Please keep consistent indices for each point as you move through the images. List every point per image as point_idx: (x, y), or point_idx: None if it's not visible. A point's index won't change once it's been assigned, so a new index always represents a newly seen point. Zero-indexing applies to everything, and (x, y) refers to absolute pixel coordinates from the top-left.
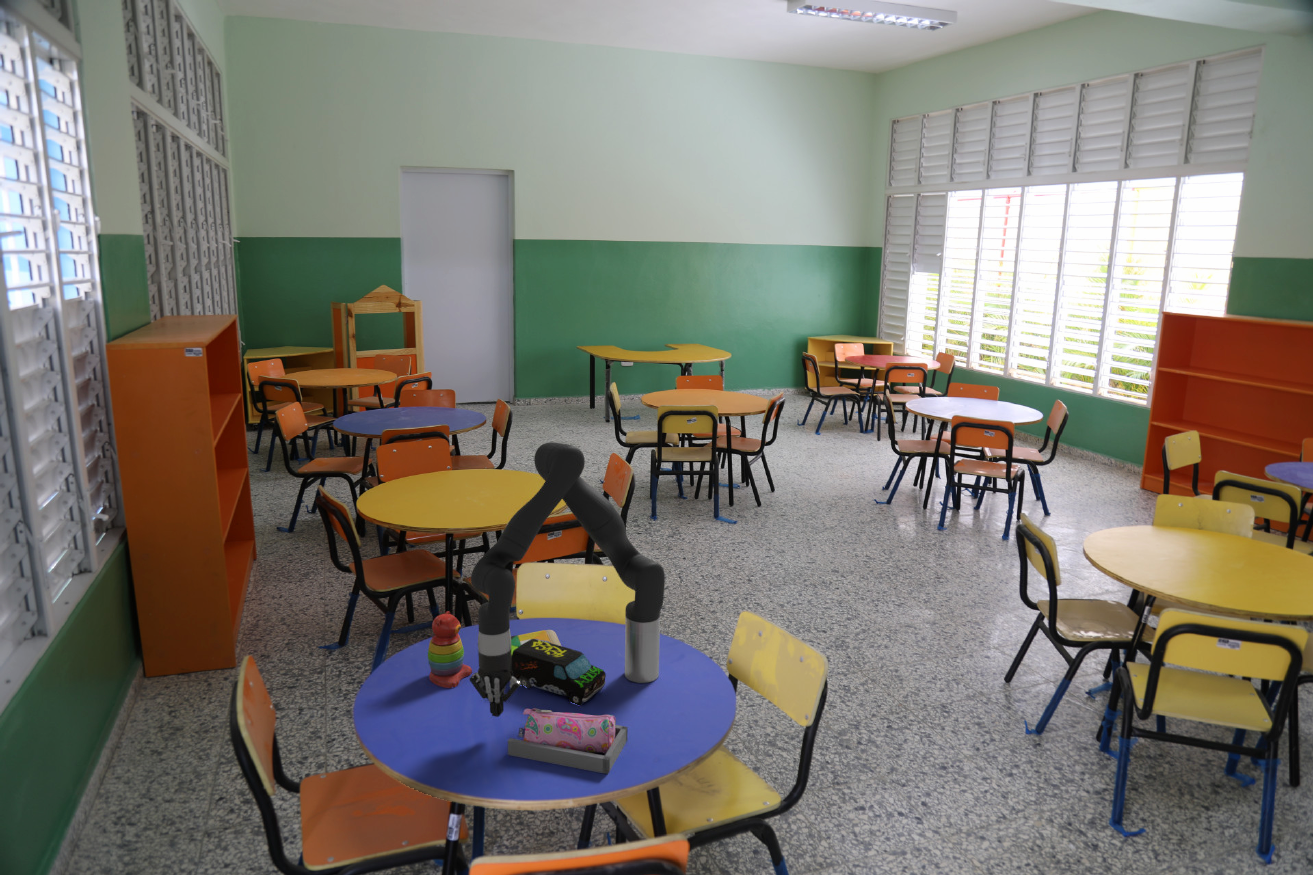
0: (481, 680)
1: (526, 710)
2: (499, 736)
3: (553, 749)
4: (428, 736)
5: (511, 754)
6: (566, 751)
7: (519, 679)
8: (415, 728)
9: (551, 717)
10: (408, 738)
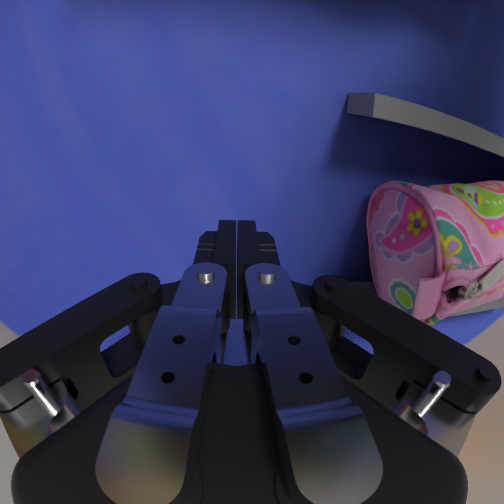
0: (59, 371)
1: (426, 297)
2: (250, 211)
3: (455, 314)
4: (48, 274)
5: None
6: (478, 310)
7: (490, 395)
8: (4, 250)
9: (496, 290)
10: (24, 292)
